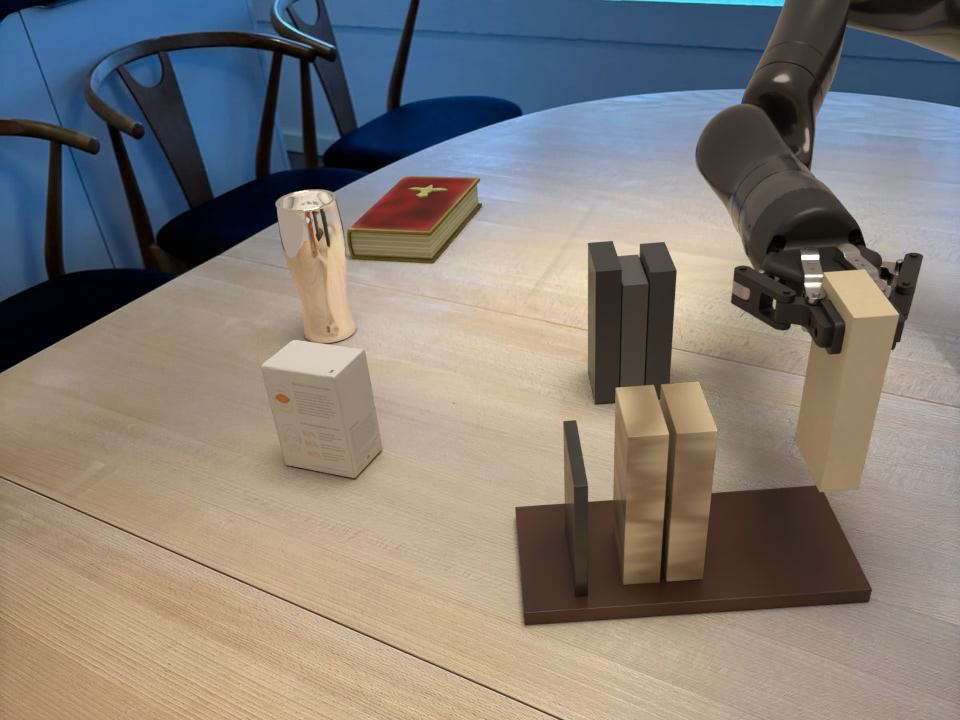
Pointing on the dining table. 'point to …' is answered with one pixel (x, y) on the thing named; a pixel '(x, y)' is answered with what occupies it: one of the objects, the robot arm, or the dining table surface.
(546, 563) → the shelf
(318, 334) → the beer glass
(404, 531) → the dining table surface
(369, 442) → the small box
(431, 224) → the hardcover book
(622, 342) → the grey books
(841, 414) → the cream book
